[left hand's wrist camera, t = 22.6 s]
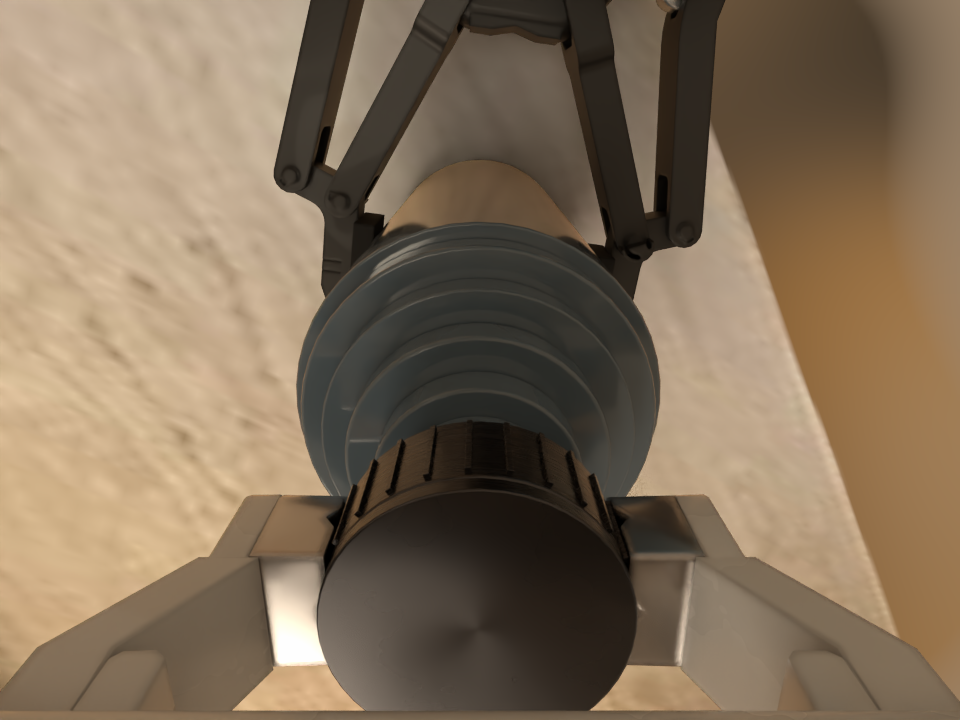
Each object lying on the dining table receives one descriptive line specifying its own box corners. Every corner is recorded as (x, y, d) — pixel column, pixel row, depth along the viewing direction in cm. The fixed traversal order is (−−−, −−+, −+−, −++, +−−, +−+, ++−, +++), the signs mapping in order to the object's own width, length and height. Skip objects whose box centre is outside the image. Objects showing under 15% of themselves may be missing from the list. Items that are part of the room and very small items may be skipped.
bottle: (373, 291, 33) (117, 722, 10) (430, 131, 31) (267, 198, 7) (523, 349, 34) (616, 863, 11) (590, 199, 32) (905, 449, 8)
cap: (564, 375, 9) (583, 438, 8) (648, 604, 11) (680, 702, 9) (293, 470, 10) (252, 549, 8) (406, 676, 11) (391, 783, 9)
